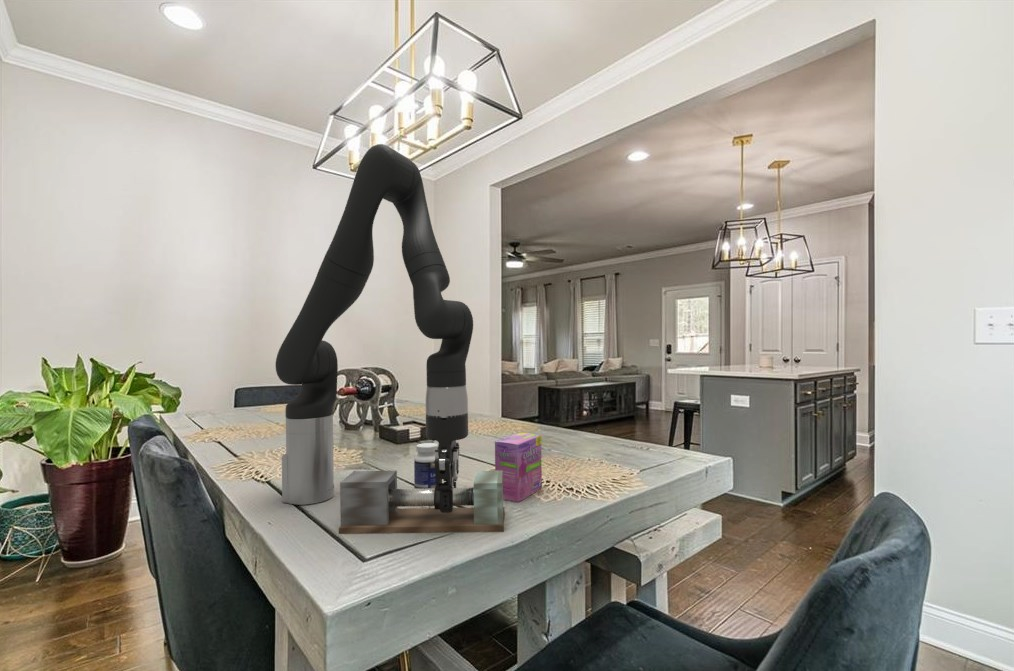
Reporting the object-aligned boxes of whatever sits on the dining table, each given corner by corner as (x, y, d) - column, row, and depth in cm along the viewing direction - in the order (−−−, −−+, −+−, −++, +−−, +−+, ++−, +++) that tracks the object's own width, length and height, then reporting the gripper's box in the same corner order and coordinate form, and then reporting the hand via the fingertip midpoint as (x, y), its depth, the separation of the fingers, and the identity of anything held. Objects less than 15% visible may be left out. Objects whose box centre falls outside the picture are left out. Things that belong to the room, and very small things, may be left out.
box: (518, 503, 94) (517, 443, 94) (494, 498, 97) (493, 440, 97) (543, 488, 102) (541, 434, 103) (520, 485, 105) (519, 432, 106)
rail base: (338, 533, 80) (338, 484, 80) (356, 514, 89) (355, 469, 89) (503, 531, 79) (502, 481, 80) (504, 512, 88) (503, 467, 89)
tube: (372, 514, 82) (372, 489, 82) (379, 505, 86) (378, 482, 86) (475, 512, 82) (474, 488, 82) (477, 504, 86) (476, 481, 86)
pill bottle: (435, 495, 99) (434, 448, 99) (410, 494, 100) (409, 447, 101) (444, 487, 105) (443, 442, 105) (420, 485, 106) (419, 441, 106)
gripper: (432, 406, 92) (434, 494, 91) (417, 417, 77) (419, 522, 77) (471, 405, 91) (472, 494, 91) (463, 417, 77) (465, 522, 77)
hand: (448, 506), depth 84 cm, fingers closed on tube, 4 cm apart
